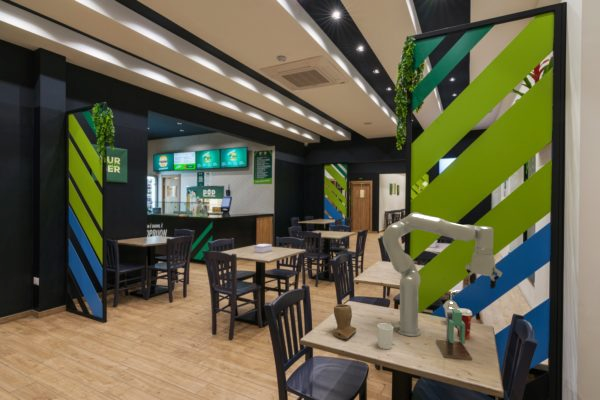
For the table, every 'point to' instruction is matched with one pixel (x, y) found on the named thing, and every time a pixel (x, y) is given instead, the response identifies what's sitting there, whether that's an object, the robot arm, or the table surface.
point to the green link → (456, 322)
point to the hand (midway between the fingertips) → (482, 285)
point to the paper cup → (466, 321)
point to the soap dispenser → (450, 305)
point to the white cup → (385, 335)
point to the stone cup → (343, 321)
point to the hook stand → (453, 345)
